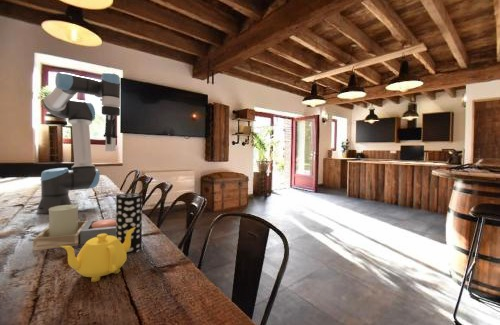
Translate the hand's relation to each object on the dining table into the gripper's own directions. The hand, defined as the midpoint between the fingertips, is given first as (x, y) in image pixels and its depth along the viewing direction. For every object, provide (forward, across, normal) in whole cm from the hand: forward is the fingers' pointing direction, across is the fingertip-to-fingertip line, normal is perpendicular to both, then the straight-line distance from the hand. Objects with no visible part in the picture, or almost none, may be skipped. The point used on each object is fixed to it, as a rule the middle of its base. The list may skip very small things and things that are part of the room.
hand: (110, 151), depth 114 cm
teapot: (+35, +53, +4) cm, 64 cm away
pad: (+32, +20, 0) cm, 38 cm away
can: (+34, +19, -14) cm, 41 cm away
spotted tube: (+35, +38, +10) cm, 53 cm away
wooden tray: (+35, +19, -14) cm, 42 cm away
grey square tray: (+35, +20, 0) cm, 40 cm away
